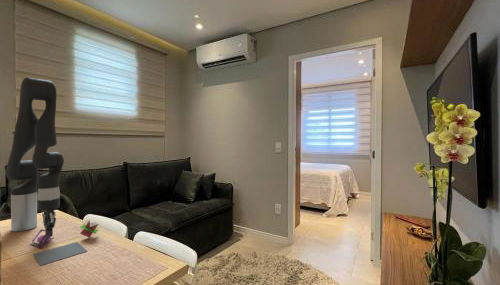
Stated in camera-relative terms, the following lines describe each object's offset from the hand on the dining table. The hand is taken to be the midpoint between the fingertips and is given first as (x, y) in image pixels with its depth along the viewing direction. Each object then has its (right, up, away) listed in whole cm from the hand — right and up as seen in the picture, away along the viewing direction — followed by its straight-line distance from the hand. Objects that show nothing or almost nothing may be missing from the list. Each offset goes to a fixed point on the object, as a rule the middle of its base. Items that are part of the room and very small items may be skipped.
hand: (49, 236), depth 104 cm
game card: (+6, +1, -6) cm, 9 cm away
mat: (+15, -1, -13) cm, 20 cm away
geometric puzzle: (+17, -1, +1) cm, 17 cm away
